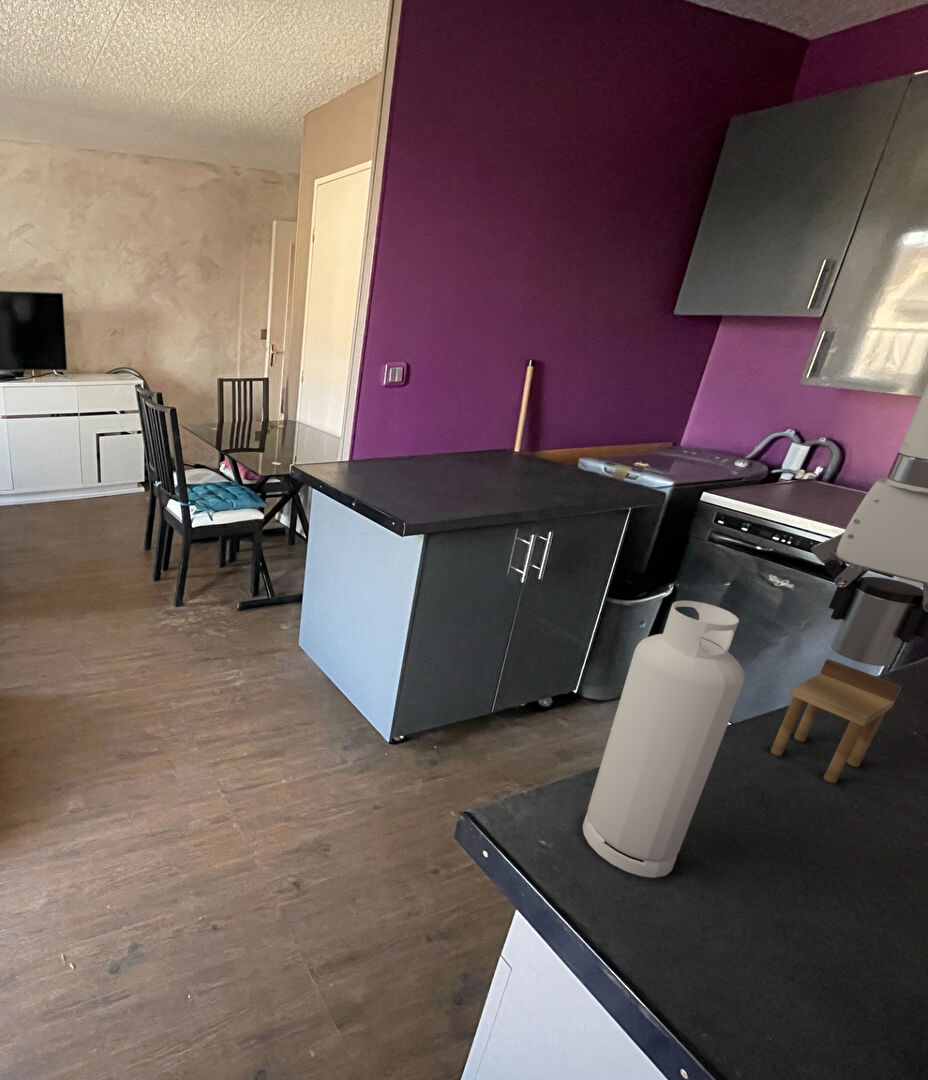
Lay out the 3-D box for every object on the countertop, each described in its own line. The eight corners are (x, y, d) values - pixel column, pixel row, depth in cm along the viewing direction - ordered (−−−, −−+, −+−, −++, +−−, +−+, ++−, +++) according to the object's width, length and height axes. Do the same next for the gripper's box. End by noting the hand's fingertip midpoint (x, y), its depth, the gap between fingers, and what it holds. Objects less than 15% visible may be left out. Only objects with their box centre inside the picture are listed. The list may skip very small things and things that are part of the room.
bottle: (636, 813, 66) (711, 592, 56) (693, 877, 58) (791, 634, 48) (566, 815, 66) (629, 593, 56) (614, 879, 58) (696, 635, 48)
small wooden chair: (794, 734, 78) (828, 658, 74) (862, 766, 73) (902, 686, 69) (766, 752, 75) (799, 673, 71) (834, 786, 70) (874, 703, 66)
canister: (841, 639, 72) (870, 573, 69) (900, 660, 67) (934, 590, 64) (821, 649, 70) (851, 581, 66) (881, 670, 65) (916, 599, 62)
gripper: (1093, 491, 55) (1000, 656, 62) (848, 456, 70) (794, 592, 76) (1069, 501, 52) (974, 673, 59) (819, 462, 66) (765, 604, 73)
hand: (873, 626), depth 67 cm, fingers closed on canister, 5 cm apart
